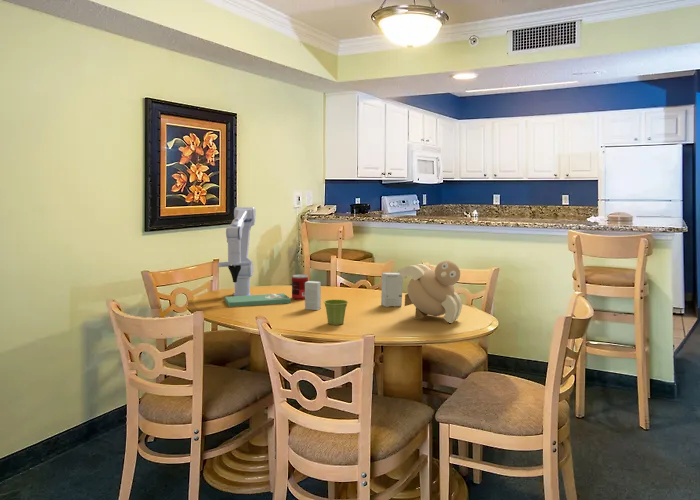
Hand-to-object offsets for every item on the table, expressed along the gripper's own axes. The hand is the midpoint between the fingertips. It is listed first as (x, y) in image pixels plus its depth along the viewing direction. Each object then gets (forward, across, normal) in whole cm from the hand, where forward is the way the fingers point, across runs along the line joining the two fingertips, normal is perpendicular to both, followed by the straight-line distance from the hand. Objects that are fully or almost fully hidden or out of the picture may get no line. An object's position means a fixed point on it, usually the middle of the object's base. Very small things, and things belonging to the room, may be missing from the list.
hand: (234, 282), depth 254 cm
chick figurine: (+10, +71, -57) cm, 91 cm away
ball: (+8, +17, -3) cm, 19 cm away
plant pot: (+10, +31, -53) cm, 62 cm away
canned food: (+10, +31, 0) cm, 32 cm away
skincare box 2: (+10, +66, -29) cm, 73 cm away
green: (+9, +10, -3) cm, 14 cm away
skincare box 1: (+10, +30, -25) cm, 40 cm away
